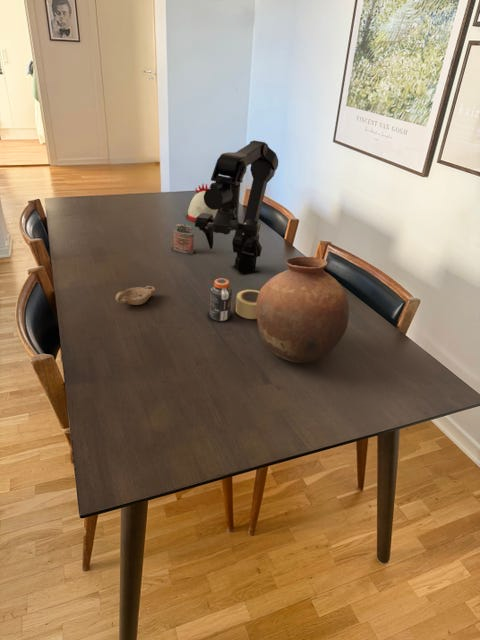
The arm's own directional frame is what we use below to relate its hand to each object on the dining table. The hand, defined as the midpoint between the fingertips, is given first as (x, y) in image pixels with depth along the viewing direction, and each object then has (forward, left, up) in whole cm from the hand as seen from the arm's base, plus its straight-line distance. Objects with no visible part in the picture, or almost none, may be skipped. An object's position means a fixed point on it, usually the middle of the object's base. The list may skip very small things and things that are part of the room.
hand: (225, 251), depth 136 cm
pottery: (-2, +37, -13) cm, 39 cm away
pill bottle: (+9, +14, -13) cm, 21 cm away
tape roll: (-1, +15, -13) cm, 20 cm away
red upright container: (0, -32, -13) cm, 35 cm away
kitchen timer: (-23, -63, -13) cm, 68 cm away
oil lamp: (+28, -2, -13) cm, 31 cm away
